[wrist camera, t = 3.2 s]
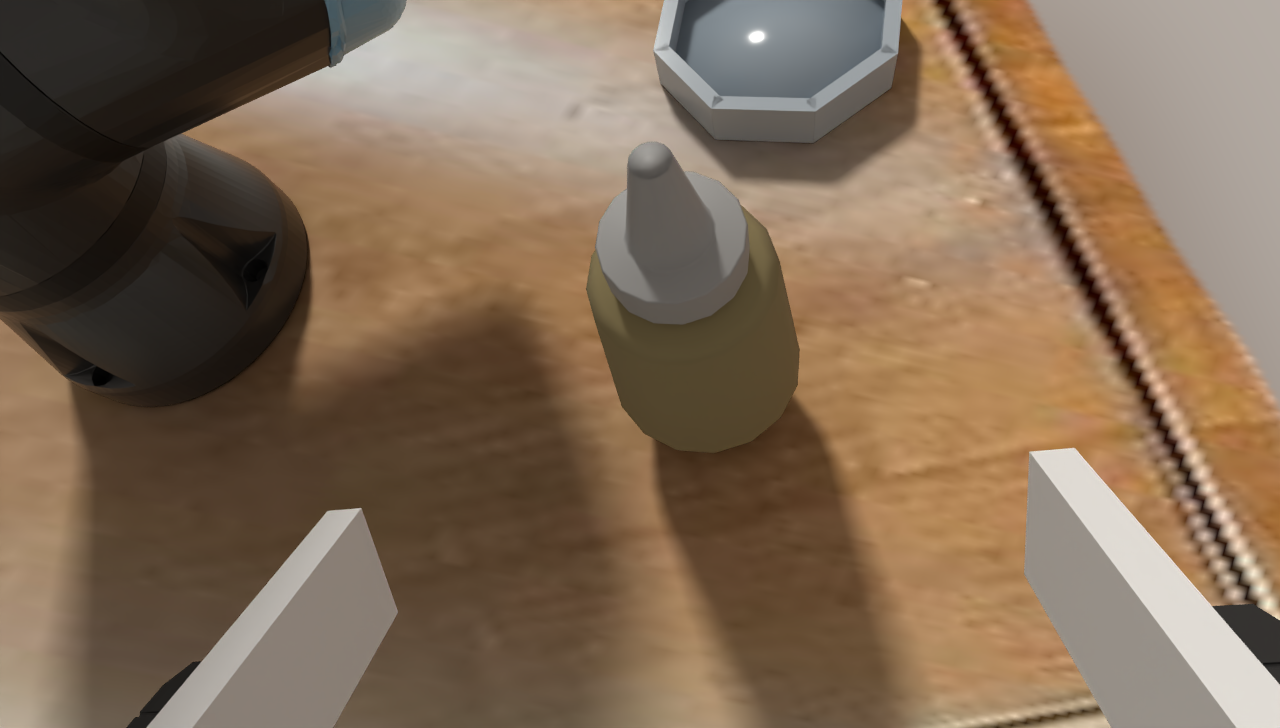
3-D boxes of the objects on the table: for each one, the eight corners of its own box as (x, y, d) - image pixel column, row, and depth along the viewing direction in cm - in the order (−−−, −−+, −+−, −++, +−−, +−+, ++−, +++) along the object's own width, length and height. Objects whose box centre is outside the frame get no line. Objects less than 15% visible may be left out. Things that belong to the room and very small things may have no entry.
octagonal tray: (757, 182, 39) (755, 153, 37) (624, 46, 44) (615, 13, 42) (945, 49, 40) (955, 12, 38) (794, -70, 45) (795, -109, 43)
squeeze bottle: (834, 374, 35) (879, 122, 18) (725, 509, 34) (667, 368, 17) (700, 283, 38) (635, -6, 21) (595, 404, 36) (438, 195, 20)
